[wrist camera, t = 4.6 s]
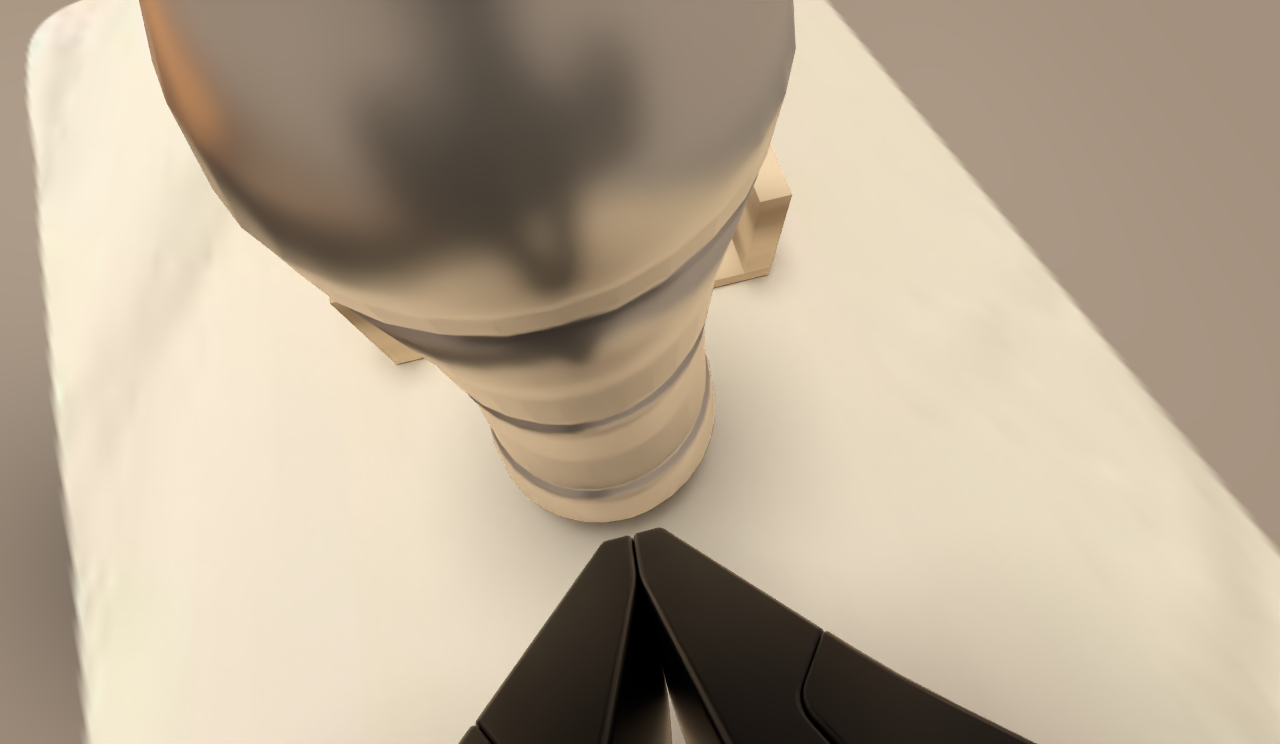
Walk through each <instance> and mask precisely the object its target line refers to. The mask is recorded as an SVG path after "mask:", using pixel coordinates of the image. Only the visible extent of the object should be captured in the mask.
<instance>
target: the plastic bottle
mask: <svg viewBox="0 0 1280 744" xmlns="http://www.w3.org/2000/svg"><path fill="white" fill-rule="evenodd" d="M139 2H140V7H141V11H142V16H143V21H144V25H145V30H146V35H147V39H148V44H149V49H150V53H151V58H152V62H153V65H154V68H155V71H156V74H157V77H158V80H159V82H160V85H161V88H162V91H163V94H164V97H165V100H166V103H167V105H168V106H169V108H170V110H171V112H172V114H173V116H174V118H175V119H176V121H177V123H178V125H179V127H180V129H181V131H182V133H183V134H184V136H185V138H186V140H187V142H188V144H189V146H190V148H191V149H192V151H193V153H194V155H195V157H196V159H197V161H198V163H199V164H200V166H201V168H202V170H203V172H204V174H205V176H206V177H207V179H208V181H209V183H210V185H211V187H212V189H213V190H214V191H215V193H216V194H217V195H218V197H219V198H220V199H221V201H222V202H223V203H224V205H225V206H226V207H227V209H228V210H229V211H230V213H231V214H232V216H233V217H234V218H235V220H236V221H237V222H238V224H239V225H240V226H241V228H243V229H244V230H245V231H247V232H248V233H249V234H251V235H252V236H253V237H254V238H256V239H257V240H258V241H260V242H261V243H262V244H263V245H265V246H266V247H267V248H269V249H270V250H271V251H272V252H274V253H275V254H276V255H277V256H278V257H280V258H281V259H282V260H283V261H284V262H286V263H287V264H288V265H289V266H291V267H292V268H293V269H294V270H295V271H297V272H298V273H299V274H300V275H302V276H303V277H304V278H306V279H307V280H308V281H309V282H311V283H312V284H313V285H315V286H316V287H317V288H319V289H320V290H321V291H323V292H324V293H325V294H327V295H328V296H329V297H330V298H332V299H333V300H334V301H336V302H337V303H339V304H342V305H344V306H346V307H348V308H349V309H350V310H352V311H353V312H354V313H355V314H357V315H358V316H360V317H362V318H363V319H365V320H366V321H368V322H369V323H371V324H372V325H374V326H376V327H377V328H379V329H380V330H382V331H383V332H385V333H386V334H388V335H389V336H391V337H393V338H394V339H396V340H397V341H399V342H400V343H402V344H403V345H405V346H407V347H408V348H410V349H411V350H413V351H414V352H416V353H417V354H419V355H420V356H422V357H424V358H425V359H427V360H428V361H430V362H431V363H433V364H434V365H436V366H437V367H438V368H439V369H440V370H441V371H442V372H444V373H445V374H446V375H447V376H448V377H449V378H450V379H451V380H452V381H453V382H454V383H455V384H456V385H458V386H459V387H460V388H461V389H462V390H464V391H465V392H466V393H467V394H468V395H469V396H470V397H471V398H472V399H473V400H474V401H475V402H476V403H477V404H478V405H479V407H480V409H481V410H482V412H483V414H484V416H485V417H486V419H487V421H488V423H489V424H490V427H491V431H492V435H493V439H494V443H495V445H496V448H497V450H498V452H499V454H500V456H501V459H502V461H503V463H504V465H505V467H506V469H507V471H508V473H509V475H510V477H511V478H512V479H513V481H514V482H515V483H516V484H517V486H518V487H519V488H520V489H521V490H522V492H523V493H524V494H525V495H526V496H528V497H529V498H530V499H532V500H533V501H534V502H535V503H537V504H538V505H539V506H540V507H542V508H544V509H546V510H548V511H550V512H552V513H554V514H557V515H559V516H561V517H565V518H569V519H573V520H577V521H581V522H612V521H618V520H623V519H629V518H632V517H635V516H637V515H640V514H642V513H645V512H647V511H649V510H651V509H653V508H654V507H656V506H657V505H659V504H660V503H662V502H663V501H665V500H667V499H668V498H670V497H671V496H672V495H673V494H674V493H675V492H676V491H677V490H678V489H679V488H680V487H681V486H683V485H684V484H685V483H686V482H687V481H688V479H689V478H690V477H691V475H692V474H693V472H694V471H695V469H696V468H697V467H698V465H699V464H700V462H701V460H702V458H703V456H704V454H705V451H706V449H707V447H708V445H709V442H710V439H711V434H712V430H713V425H714V421H715V396H714V389H713V382H712V377H711V372H710V366H709V362H708V359H707V357H706V354H705V338H704V325H705V321H706V317H707V313H708V308H709V304H710V300H711V296H712V291H713V287H714V283H715V278H716V276H717V273H718V271H719V269H720V266H721V264H722V261H723V259H724V256H725V254H726V252H727V249H728V247H729V244H730V242H731V239H732V237H733V235H734V232H735V230H736V227H737V225H738V222H739V220H740V218H741V215H742V213H743V210H744V208H745V205H746V203H747V201H748V198H749V196H750V193H751V191H752V188H753V186H754V184H755V181H756V179H757V176H758V172H759V170H760V168H761V166H762V164H763V162H764V160H765V158H766V156H767V153H768V149H769V146H770V142H771V139H772V135H773V132H774V128H775V125H776V122H777V118H778V115H779V112H780V109H781V106H782V103H783V100H784V97H785V94H786V89H787V85H788V80H789V76H790V71H791V67H792V63H793V58H794V54H795V49H796V45H795V25H794V5H793V0H139Z"/></svg>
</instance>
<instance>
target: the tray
mask: <svg viewBox="0 0 1280 744" xmlns="http://www.w3.org/2000/svg"><path fill="white" fill-rule="evenodd" d="M791 196H792V193H791V191H790V189H789V186H788V184H787V182H786V180H785V177H784V175H783V173H782V170H781V168H780V166H779V164H778V161H777V159H776V157H775V154H774V152H773V150H772V148H771V145H770V146H769V149H768V153H767V156H766V158H765V160H764V162H763V164H762V166H761V168H760V170H759V172H758V176H757V179H756V181H755V184H754V186H753V188H752V191H751V193H750V196H749V198H748V201H747V203H746V205H745V208H744V210H743V213H742V215H741V218H740V220H739V222H738V225H737V227H736V230H735V232H734V235H733V237H732V239H731V242H730V244H729V247H728V249H727V252H726V254H725V256H724V259H723V261H722V264H721V266H720V269H719V271H718V273H717V276H716V278H715V283H714V287H719V286H723V285H727V284H731V283H735V282H739V281H743V280H748V279H752V278H756V277H760V276H764V275H768V274H769V272H770V269H771V265H772V262H773V258H774V255H775V252H776V248H777V245H778V241H779V238H780V234H781V231H782V227H783V224H784V220H785V217H786V214H787V210H788V207H789V203H790V200H791ZM714 287H713V288H714ZM330 304H331V305H332V306H334V307H335V308H336V309H337V310H338V311H339V312H340V313H341V314H342V315H343V316H344V317H346V318H347V319H348V320H349V321H350V322H351V323H352V324H353V325H354V326H355V327H356V328H357V329H359V330H360V331H361V332H362V333H363V334H364V335H365V336H366V337H367V338H368V339H369V340H370V341H372V342H373V343H374V344H375V345H376V346H377V347H378V348H379V349H380V350H381V351H382V352H383V353H385V354H386V355H387V356H388V357H389V358H390V359H391V360H392V361H393V362H394V363H395V364H400V363H405V362H409V361H413V360H417V359H421V358H424V357H422V356H420V355H419V354H417V353H416V352H414V351H413V350H411V349H410V348H408V347H407V346H405V345H403V344H402V343H400V342H399V341H397V340H396V339H394V338H393V337H391V336H389V335H388V334H386V333H385V332H383V331H382V330H380V329H379V328H377V327H376V326H374V325H372V324H371V323H369V322H368V321H366V320H365V319H363V318H362V317H360V316H358V315H357V314H355V313H354V312H353V311H352V310H350V309H349V308H348V307H346V306H344V305H342V304H339V303H337V302H336V301H334V300H333V299H332V298H330Z"/></svg>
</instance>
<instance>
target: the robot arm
mask: <svg viewBox="0 0 1280 744" xmlns="http://www.w3.org/2000/svg"><path fill="white" fill-rule="evenodd" d="M633 540H634V541H633ZM665 679H666V681H665ZM666 683H667V687H668V691H669V695H670V698H671V701H672V704H673V707H674V710H675V713H676V716H677V719H678V722H679V724H680V727H681V730H682V733H683V736H684V738H685V741H686V744H1036V743H1034V742H1032V741H1030V740H1028V739H1026V738H1024V737H1022V736H1020V735H1018V734H1016V733H1014V732H1012V731H1010V730H1008V729H1006V728H1004V727H1002V726H1000V725H998V724H996V723H994V722H992V721H990V720H988V719H986V718H984V717H982V716H980V715H978V714H976V713H974V712H972V711H969V710H967V709H965V708H963V707H961V706H959V705H957V704H956V703H954V702H952V701H950V700H948V699H946V698H944V697H942V696H940V695H938V694H936V693H934V692H932V691H931V690H929V689H927V688H925V687H923V686H921V685H919V684H917V683H915V682H913V681H911V680H909V679H908V678H906V677H904V676H902V675H900V674H898V673H896V672H895V671H893V670H891V669H890V668H888V667H886V666H885V665H883V664H881V663H879V662H878V661H876V660H874V659H873V658H871V657H869V656H868V655H866V654H864V653H862V652H861V651H859V650H857V649H856V648H854V647H852V646H851V645H849V644H848V643H846V642H844V641H843V640H841V639H840V638H838V637H836V636H835V635H833V634H832V633H830V632H828V631H826V632H824V631H823V629H822V628H820V627H819V626H817V625H815V624H814V623H812V622H811V621H809V620H807V619H806V618H804V617H803V616H801V615H800V614H798V613H796V612H795V611H793V610H792V609H790V608H788V607H787V606H785V605H784V604H782V603H781V602H779V601H777V600H776V599H774V598H773V597H771V596H769V595H768V594H766V593H765V592H763V591H762V590H760V589H758V588H757V587H755V586H754V585H752V584H750V583H749V582H747V581H746V580H744V579H743V578H741V577H739V576H738V575H736V574H735V573H733V572H731V571H730V570H728V569H727V568H725V567H724V566H722V565H720V564H719V563H717V562H716V561H714V560H712V559H711V558H709V557H708V556H706V555H705V554H703V553H701V552H700V551H698V550H697V549H695V548H693V547H692V546H690V545H689V544H687V543H686V542H684V541H682V540H681V539H679V538H678V537H676V536H674V535H673V534H671V533H670V532H668V531H667V530H665V529H663V528H655V529H651V530H647V531H643V532H640V533H637V534H635V535H634V538H633V539H632V538H631V537H630V536H624V537H620V538H616V539H612V540H608V541H605V542H603V543H602V544H601V545H600V547H599V548H598V549H597V551H596V552H595V554H594V555H593V557H592V558H591V559H590V561H589V562H588V564H587V565H586V566H585V568H584V569H583V571H582V572H581V573H580V575H579V576H578V578H577V579H576V581H575V582H574V583H573V585H572V586H571V588H570V589H569V590H568V592H567V593H566V595H565V596H564V598H563V599H562V600H561V602H560V603H559V605H558V606H557V607H556V609H555V610H554V612H553V613H552V614H551V616H550V617H549V619H548V620H547V622H546V623H545V624H544V626H543V627H542V629H541V630H540V631H539V633H538V634H537V636H536V637H535V638H534V640H533V641H532V643H531V644H530V646H529V647H528V648H527V650H526V651H525V653H524V654H523V655H522V657H521V658H520V660H519V661H518V662H517V664H516V665H515V667H514V668H513V670H512V671H511V672H510V674H509V675H508V677H507V678H506V679H505V681H504V682H503V684H502V685H501V686H500V688H499V689H498V691H497V692H496V694H495V695H494V696H493V698H492V699H491V701H490V702H489V703H488V705H487V706H486V708H485V709H484V710H483V712H482V713H481V715H480V716H479V718H478V719H477V720H476V726H471V727H470V728H469V730H468V731H467V732H466V734H465V735H464V737H463V738H462V739H461V741H460V742H459V744H672V734H671V721H670V710H669V700H668V693H667V687H666Z"/></svg>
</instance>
